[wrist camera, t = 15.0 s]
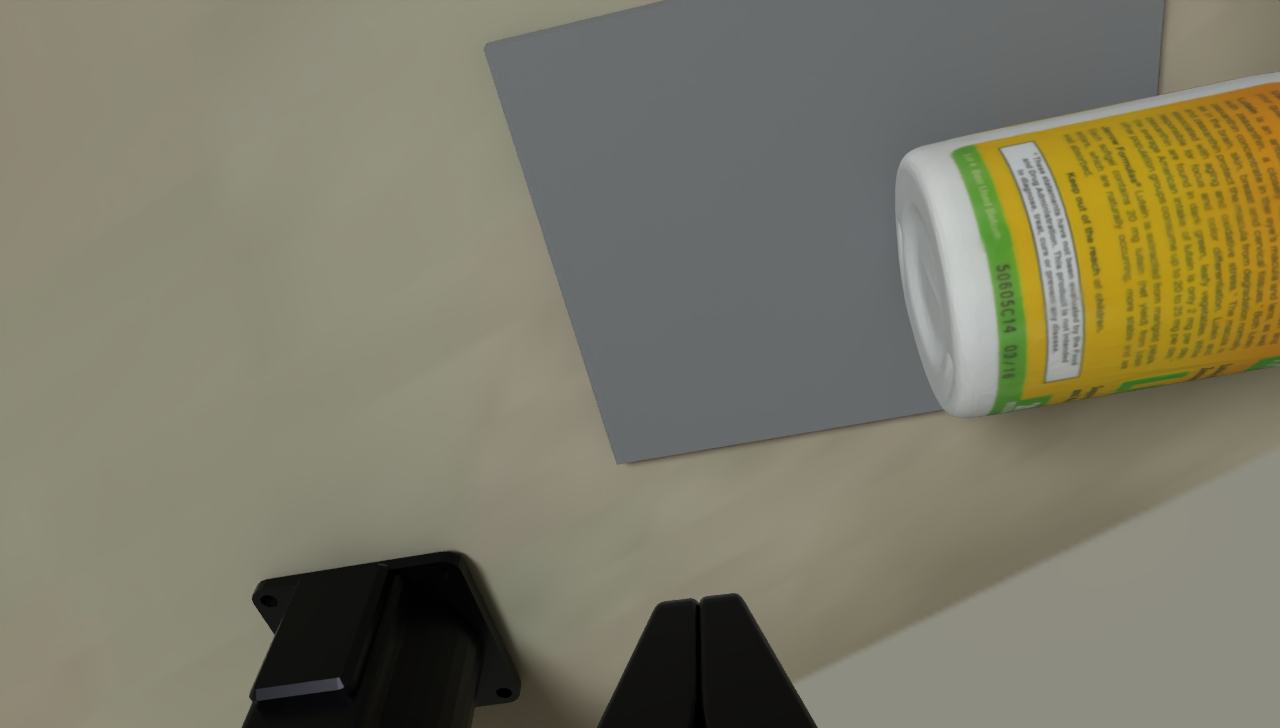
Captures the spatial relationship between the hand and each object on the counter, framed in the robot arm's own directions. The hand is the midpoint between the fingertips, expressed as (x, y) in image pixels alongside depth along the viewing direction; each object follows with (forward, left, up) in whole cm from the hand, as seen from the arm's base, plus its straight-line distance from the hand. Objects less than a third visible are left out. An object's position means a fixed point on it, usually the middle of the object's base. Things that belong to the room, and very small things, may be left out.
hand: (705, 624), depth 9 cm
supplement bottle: (-3, -4, -10) cm, 11 cm away
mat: (-2, -3, -13) cm, 13 cm away
